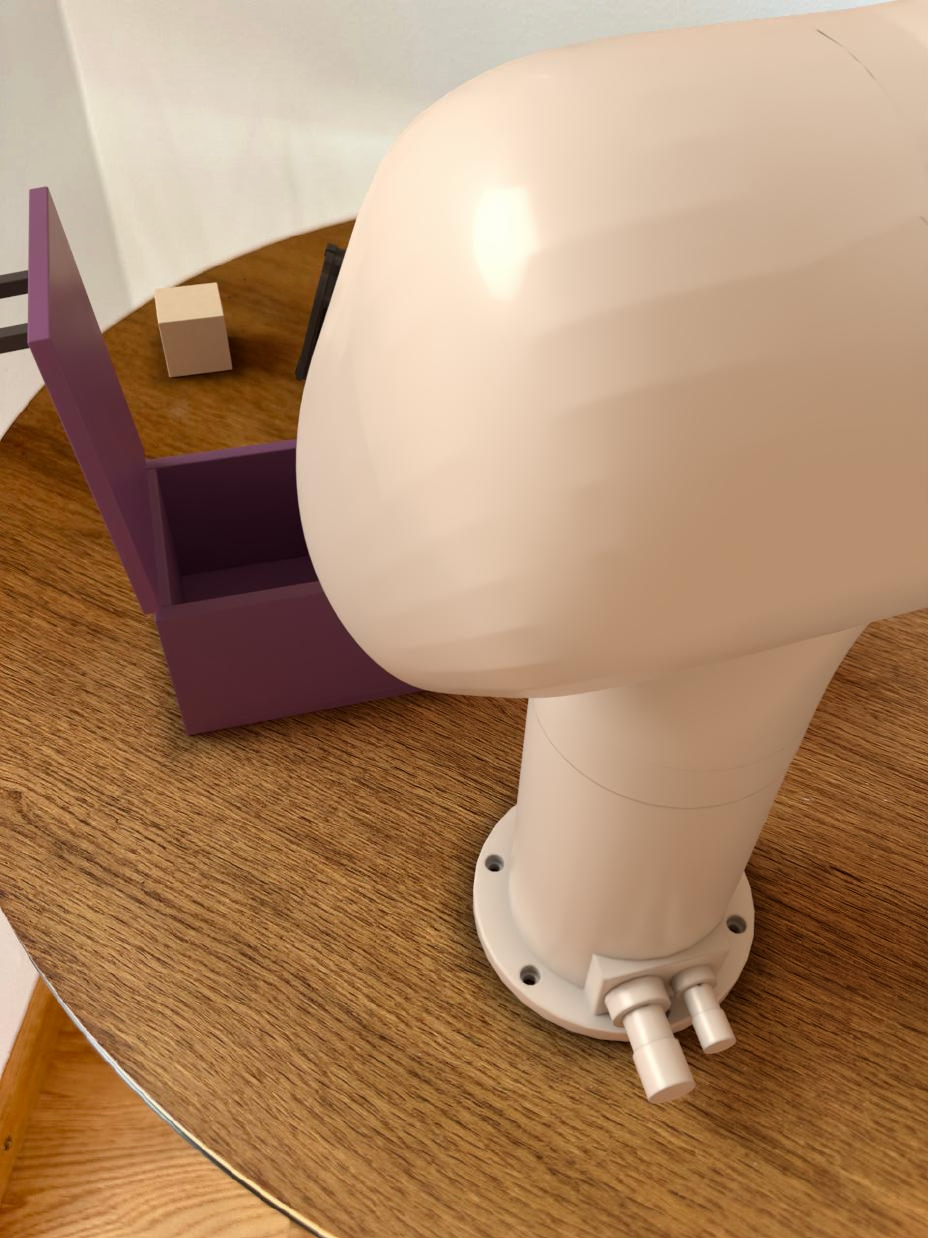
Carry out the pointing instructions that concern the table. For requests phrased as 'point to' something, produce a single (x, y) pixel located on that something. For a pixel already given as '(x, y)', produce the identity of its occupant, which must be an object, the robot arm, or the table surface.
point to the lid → (84, 391)
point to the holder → (248, 594)
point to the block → (193, 329)
